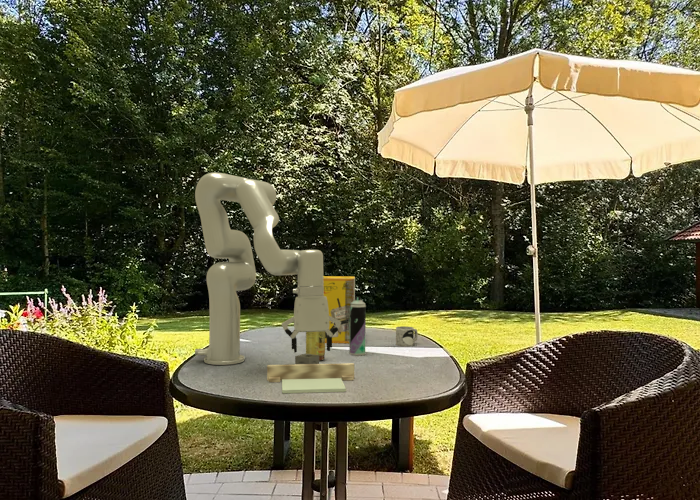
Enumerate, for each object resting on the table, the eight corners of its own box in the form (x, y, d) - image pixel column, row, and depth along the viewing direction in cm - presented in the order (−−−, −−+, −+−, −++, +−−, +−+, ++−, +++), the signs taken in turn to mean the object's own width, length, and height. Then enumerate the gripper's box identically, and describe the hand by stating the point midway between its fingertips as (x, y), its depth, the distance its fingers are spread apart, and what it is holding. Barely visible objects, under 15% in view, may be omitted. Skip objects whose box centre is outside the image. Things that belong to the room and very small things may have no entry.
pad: (282, 393, 133) (282, 390, 133) (281, 382, 144) (282, 379, 144) (346, 391, 135) (346, 388, 135) (340, 381, 146) (341, 378, 146)
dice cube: (309, 375, 152) (309, 358, 152) (295, 373, 155) (295, 356, 155) (319, 372, 157) (319, 355, 157) (305, 370, 159) (305, 353, 159)
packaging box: (354, 343, 205) (354, 278, 205) (311, 343, 205) (312, 278, 205) (354, 336, 221) (354, 276, 221) (315, 336, 221) (315, 276, 221)
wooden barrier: (267, 382, 144) (267, 367, 144) (267, 377, 149) (267, 363, 149) (355, 380, 147) (355, 365, 147) (352, 376, 152) (352, 361, 152)
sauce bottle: (322, 362, 170) (322, 300, 170) (303, 361, 172) (303, 299, 172) (327, 358, 177) (327, 298, 177) (308, 357, 178) (309, 297, 178)
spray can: (354, 356, 180) (354, 297, 180) (346, 353, 185) (347, 295, 185) (368, 354, 183) (368, 296, 183) (360, 352, 188) (361, 295, 188)
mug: (404, 347, 198) (404, 329, 198) (392, 344, 203) (392, 327, 203) (423, 344, 204) (423, 327, 204) (410, 342, 210) (411, 325, 210)
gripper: (281, 293, 151) (282, 354, 151) (341, 292, 153) (343, 351, 153) (280, 292, 158) (281, 350, 158) (338, 290, 161) (340, 347, 160)
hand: (312, 350), depth 156 cm, fingers open, 9 cm apart
